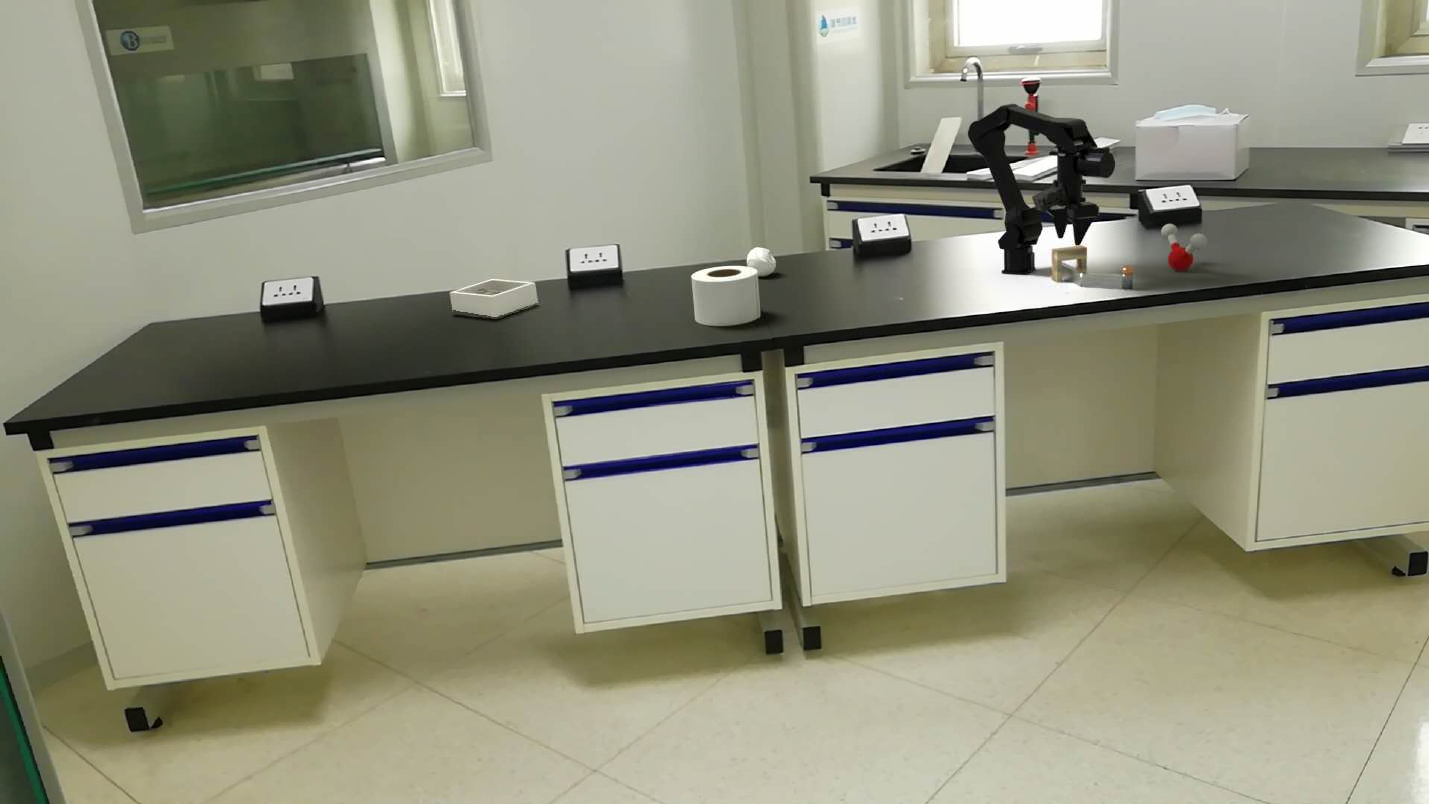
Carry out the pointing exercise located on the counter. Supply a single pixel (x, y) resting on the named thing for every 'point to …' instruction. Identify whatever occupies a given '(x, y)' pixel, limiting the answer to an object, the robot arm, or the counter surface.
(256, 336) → the counter surface
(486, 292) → the rock sample
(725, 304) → the toilet paper roll
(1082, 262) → the arch
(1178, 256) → the molecular model
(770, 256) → the crumpled paper ball
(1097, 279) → the bent rail
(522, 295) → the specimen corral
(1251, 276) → the counter surface
